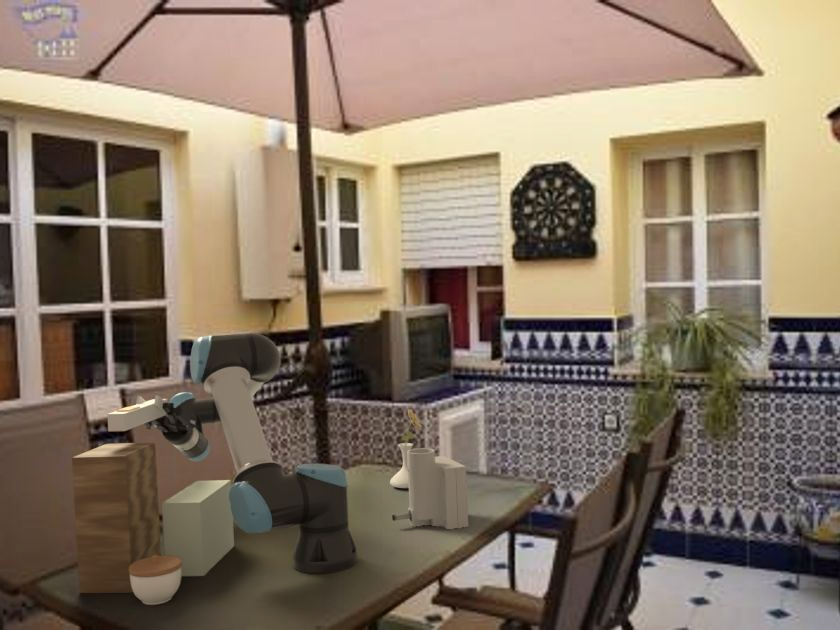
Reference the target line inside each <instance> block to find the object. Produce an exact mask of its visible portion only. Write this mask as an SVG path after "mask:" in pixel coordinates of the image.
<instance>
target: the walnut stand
mask: <svg viewBox="0 0 840 630" xmlns="http://www.w3.org/2000/svg"><path fill="white" fill-rule="evenodd" d="M156 451H157V450H156V442H130V443H129V442H125V443H119V442H118V443H105V444H103V445H100V446H98V447H96V448H92V449H90V450H88V451H85V452H83V453H80V454H78V455H77V454H76V455H75V456H73V457H71V462H72V463H71V465H72V485H73V498H74V499H73V502H74V516H75V534H76V536H75V537H76V538H75V539H76V552H77V553H76V555H77V556H76V557H77V569H78V570H77V571H78V572H77V573H78V574H77V575H78V590H79V591H78V592H79V594H110V593H111V594H112V593H113V594H114V593H116V594H119V593H120V594H123V593H125V594H126V593H128V594H129V593H130V594H132V593H134V592H133V590H132V587H131V583H130V573H129V566H130V565H131V564H132V563H134V562H136V561H138V560H141V559H145V558H149V557H152V556H154V555H157V556H162V547H161V530H160V527H161V526H160V511H159V510H160V508H159V492H158V491H159V490H158V471H157V452H156Z"/></svg>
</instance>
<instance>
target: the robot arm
mask: <svg viewBox="0 0 840 630" xmlns="http://www.w3.org/2000/svg"><path fill="white" fill-rule="evenodd" d="M192 344H193V345H192V347H191V353H190V361H189V362H190V363H189V364H190V366H189V367H190V368H189V369H190V377H191V379H192V382H193V383H195V384H197V385H198V384H199V385H200V384H202V387H203V389H204V392H205V393H207V394H209V396H212V397H211V398H210V397H209V398H208V397H207V398H201V399H200V398H199V399H196V397H195V394H194V393H192V392H187V391H185V392H179V393H177V394H175V395H173V396H172V397H170V400H169V401H168V402H169V403H166V402H165V401H164V400H163V399H164V398H162V397H161V395H157V394H156V395H155V398H154V399H155V403H154V406H155V407H156V408H157V409H158V410H159V411H160V412H161V413H162V414H163V415H165V416H162V417H160V418H157V419H155V420H152V421H150V422H147V423H144V424H143V425H144V426H145V427H146V429H147V430H152V429H153V428H157V430H159V431H160V432H161V433H162V435H163V437H164V438H165V440H166V441H167V442H169V443H170V444H171V445H172V446H173V447H175V448H176V449H177V450H178V452H180V454H181V455H183V456H184V458H185V459H188V460H190V461H192V462H200V461H202V460H204V459H206V457H208V455H209V454H210V450H211V445H210V442H209V439H208V438H207V437H205V433H204V428H203V426H204V425H205V426H206V425H210V424H211V425H212V424H220V423H221V425H222V429H223V433H224V435H225V436H224V437H225V438H226V439H225V440H226V442H227V446H228V448H229V451H230V455H231V458H232V461H233V465H234V468H235V471H236V474H235V477H234V478H233V481H232V483H233V484H231V488H230V491H229V502H230V503H231V505H230V508H231V512H232V515H233V520H234V522H235V523H236V524H237V526H238V528H239V529H240V530H242V531H243V532H245V533H246V534H258V533H268V532H270V531H274V530H279V529H284V528H288V527H293V526H298V536H297V540H296V543H295V547H294V551H293V555H292V566H293V568H294V569H296V570H297V571H298V572H303V573H308V574H327V573H335V572H340V571H343V570H346V569H349V568H351V567H353V566H355V565H356V564H357V563H358V549H357V547H356V544H355V541H354V538H353V536H352V534H351V531H350V526H349V506H348V505H349V503H348V500H349V499H348V482H347V474H346V472H345V469H344V468H343V467H340V466H338V465H333V464H328V463H301V464H298V465H297V466H296V468H295V473H288V474H285V472H284V470H283V467H282V464H281V463H280V462H277V461H274V460H273V457H272V455H271V451H270V449H269V446H268V443H267V440H266V437H265V434H264V431H263V428H262V426H261V422H260V419H259V417H258V413H257V410H256V408H255V405H254V401H253V399H252V398H253V397H254V395H255V394H256V393H257V392H258V391H259V389H260V388H261V387H262V386H263V384H264V383H266V382H269V381H271V380H272V379H273V378H274V376H276V374H277V373H278V371H279V369H280V365H281V354H280V351H279V349H278V346H277V345H276V344H275V343H274V342H273V341H272V339H270V338H268V337H267V336H265V335H263V334H260V333H255V332H247V333H235V334H234V333H233V334H221V335H213V334H210V335H208V336H207V335H205V336H199V337H197V338H196V339H195V340H194V341H193V343H192ZM146 401H147V400H145V399H144V397H142V396H141V395H137V397H136V403H135V405H137V404H140V403H143V402H146ZM167 413H168V414H167Z"/></svg>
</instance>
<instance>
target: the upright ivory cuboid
mask: <svg viewBox="0 0 840 630" xmlns="http://www.w3.org/2000/svg"><path fill="white" fill-rule="evenodd" d="M231 486H232V479H225V480H224V479H223V480H222V479H219V480H216V479H215V480H196V481H194V482H193V483H191V484H189V485H188V486H186V487H184V489H182V490H181V491H178V492H177V493H176V494H174V495H173V496H171V497H170V498H168V499H166V500H164V501H163V502H162V503H161V509H162V512H161V513H162V525H163V526H162V529H163V531H162V532H163V543H164V544H163V546H164V556H175V557H179V558H180V559H181V561H182V565H181V577H204V576H205V575H207V574H208V573H209V571H210V570H211V569H212V568H214V566H216V565H217V563H218V562H219V561H220V560H222V559H223V558H224V556H226V554H228V553H229V552H230V551H231V550H233V548H234V547H235V537H234V536H235V535H234V534H235V533H234V517H233V515H232V512H231V508H230V505H231V503H230V502H229V491H230V488H231Z"/></svg>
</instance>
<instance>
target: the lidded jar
mask: <svg viewBox="0 0 840 630" xmlns="http://www.w3.org/2000/svg"><path fill="white" fill-rule="evenodd" d="M181 565H182V561H181V559H180V558H179V557H175V556H165V555H161V556H157V555H154V556H152V557H149V558H145V559H141V560H138V561H136V562H134V563H132V564H131V565H130V566H129V573H130V583H131V587H132V590H133V592H132V593H133V594H134V596H135V597H136V598H138V600H140V601H141V603H142V604H143V605H147V606H154V605H155V606H156V605H160V604H164V603H167V602H169V601H171V600H172V599H173V596H175V594H176V592H178V590H179V588H180V585H181V581H182V576H181Z"/></svg>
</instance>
